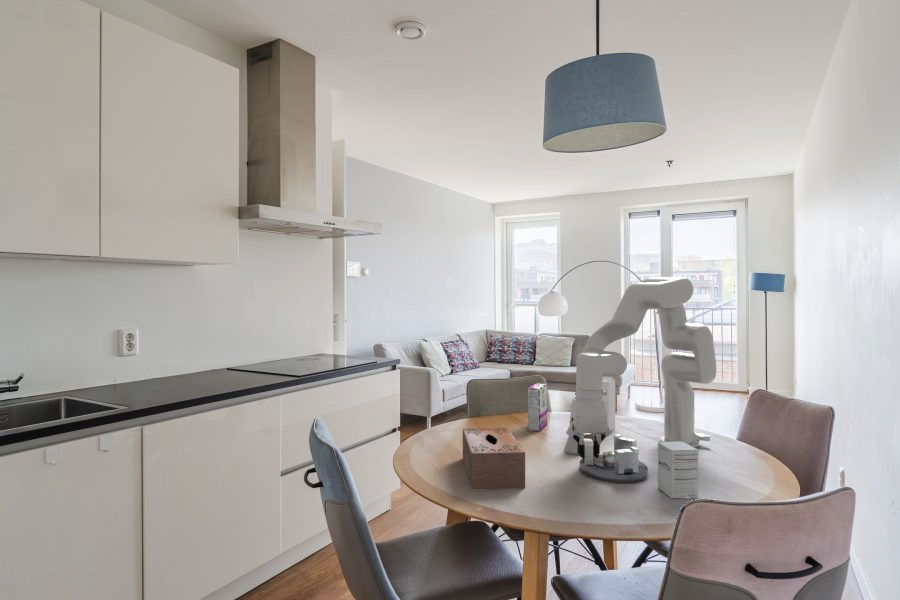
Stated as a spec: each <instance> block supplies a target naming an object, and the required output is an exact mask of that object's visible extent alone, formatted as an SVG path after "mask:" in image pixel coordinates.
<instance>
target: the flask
mask: <svg viewBox="0 0 900 600" xmlns="http://www.w3.org/2000/svg"><path fill="white" fill-rule="evenodd" d="M573 433H574V434H575V435H577V433H575V431H573ZM577 445H578V443H577V442H576V441H575V440H574V438H572V437H570V436H569V435H568V438H567V440H566V443H565V446H564V448H563V451H564V453H566V454H571V455H579V454H578V452H577Z"/></svg>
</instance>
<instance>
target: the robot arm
mask: <svg viewBox="0 0 900 600" xmlns="http://www.w3.org/2000/svg"><path fill="white" fill-rule="evenodd" d="M693 294H694V286H693V282H692V281H691V280H690V279H689V278H687V277H683V276H657V277H647V278H644V279H642V281H640V282H634V283H631V284H630V285H629V286H627V288H626V289H625V291H624V294H623V295H622V297H621V299H620V301H619V303H618V306H617V307H616V310H615V312H614V314H613V316H612V318H611V319H610V320H609V321H608V322H607V323H604V324H603V325H602V326H600V327H598V329H596V331H594V332H593V333H592V335H591V336H590V337H589V338H588V340H587V341H586V343H585V345H584V348H583V350H582V352H581V353H578V354H577V355H576V365H575V367H576V369H575V370H576V371H575V373H576V375H575V376H576V377H575V379H576V380H575V381H576V382H575V388H576V389H575V397H574V398H573V399H572V403H571V409H570V417H569V426H568V428H567V430H566V432H565V434H566V435H568V437H569V436H570V437H572V438H574V440H575V441H576V442H577V443H578V445H577V452H578V454H577V455H578V456H579V457H580V458H581V459H582V458H585V445H584V434H593V436H594V440H593V456H594V457H596V458H598V457H599V455H601V454H600V453H601V450H600V448H601V444H602V442H603V441H604V440H605V439H606V438H607V437H609V436H610V435H612V431H610V429H609V427H608V425H607V413H606V406H605V401H604V400H603V399H602V398H603V396H604V395H607V392H606V391H604V390H603V389H602V384H603V377H604V376H606V377H612V378H617V377H620V376H622V375H623V374H624V373H625V372H626V370H627V367H628V361H627V359H626V357H625V356H624V355H623V354H621V353H619V352H616V351H615V352H614V351H608V350H605V349H606V348H607V347H608V346H609V345H611V344H612V343H614V342H616V341H619V340H621V339H624V338H627V337H630V336H632V335H635V334H636V333H637V332H638V331H639V330H640V329H639V328H640V326H641V325H642V322H643V320H644V318H645V316H646V314H647V312H648V311H649V310H657V314H658V320H659V326H660V332H661V339H662V343H663V345H664V347H665V348H667V349H669V350H672V351H673V350H674V351H673V352H669V353H667V354H665V355H664V356H663V357H662V359H661V362H660V363H661V364H660V365H661V367H660V368H661V373H662V377H663V386H664V389H663V390H664V410H663V411H664V414H663V415H664V421H663V422H664V433H663V434H664V435H662V436H660V437H659V442H675V441H682V442H684V443H686V444H688V445H690V446H692V447H694V448H696V449H697V448H698V447H699V446H700V441H703V442H710V441H711V440H710V439H711V438H710V435H707V434H706V435H705V434H704V433H697V432H696V430H695V391H694V389H693V386H692V385H691V383H697V384H705V385H706V384H711V383H713V382H714V380H715V379H716V376H717V360H716V359H717V358H716V352H715V343H714V338H713V333H712V331H711V330H710V328H709V327H708V326H707V325H705V324H702V323H695V322H693V323H692V322H689V321H688V319H687V314H686V309H685V305H684V304H685V303H687V302H688V301H690V300H691V299H692V297H693ZM675 351H677V352H675ZM679 351H680V352H679ZM688 352H689V353H688ZM690 352H692V353H690ZM573 431H575V433H577V435H575V434H574V433H573Z"/></svg>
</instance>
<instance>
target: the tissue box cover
mask: <svg viewBox="0 0 900 600" xmlns="http://www.w3.org/2000/svg"><path fill="white" fill-rule="evenodd" d="M463 460H464V461H463ZM462 461H463V464H464V463H465V465H464V468H465V467H466V468H465V471H466V470H467V471H466V475H467V474H468V475H467V478H468V477H469V478H468V481H470V482H469V485H470V484H471V485H470V489H471V490H472V489H476V490H475V491H478V490H477V489H486V490H508V489H509V490H511V489H512V490H515V489H526V450H524V448H523V447H522V445H521V444H520V443H519V441H518V440H517V438H516V437H515V435H514V433H512V431H511V430H510V429H509V427H507V426H505V427H503V426H502V427H500V426H499V427H498V426H497V427H463V428H462Z"/></svg>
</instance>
